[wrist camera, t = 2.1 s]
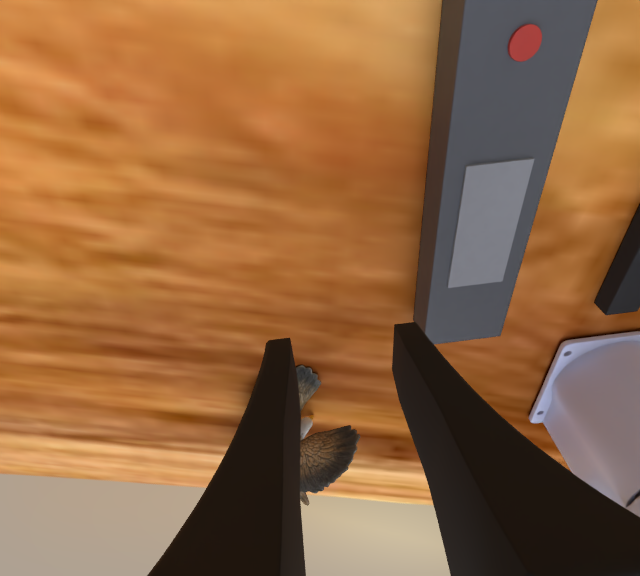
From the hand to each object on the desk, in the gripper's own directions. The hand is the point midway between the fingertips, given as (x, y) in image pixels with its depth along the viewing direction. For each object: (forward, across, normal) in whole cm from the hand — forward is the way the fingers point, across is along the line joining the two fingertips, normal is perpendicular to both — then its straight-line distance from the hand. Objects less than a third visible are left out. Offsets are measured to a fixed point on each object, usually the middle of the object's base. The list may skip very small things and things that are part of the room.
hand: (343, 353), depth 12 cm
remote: (+9, -8, 0) cm, 12 cm away
